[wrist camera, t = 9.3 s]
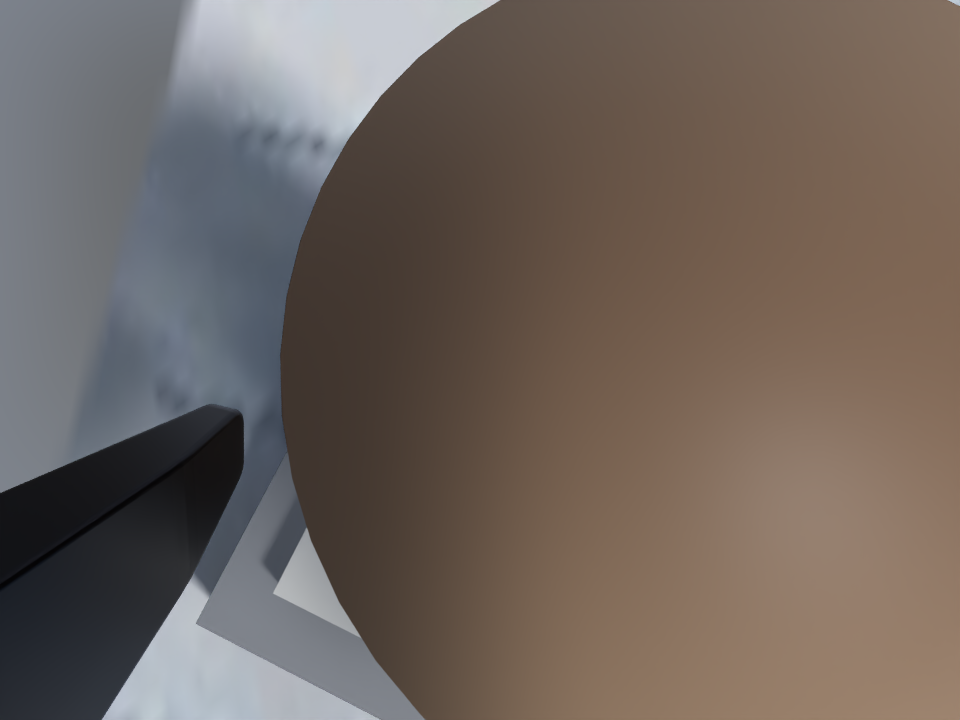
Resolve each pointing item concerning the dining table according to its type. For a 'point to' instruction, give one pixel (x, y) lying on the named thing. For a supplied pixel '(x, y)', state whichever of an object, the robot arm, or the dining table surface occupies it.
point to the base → (296, 608)
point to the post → (645, 364)
